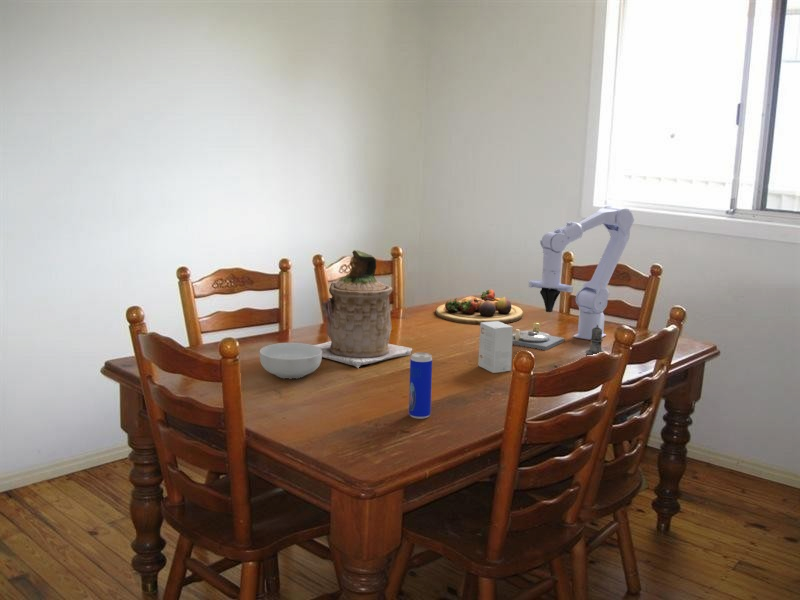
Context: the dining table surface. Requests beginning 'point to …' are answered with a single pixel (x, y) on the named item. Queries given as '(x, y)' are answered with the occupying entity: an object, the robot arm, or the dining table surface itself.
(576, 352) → the dining table surface
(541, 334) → the flange plate
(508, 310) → the wooden plate with food
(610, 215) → the robot arm
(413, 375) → the beverage can
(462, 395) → the dining table surface
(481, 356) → the small box
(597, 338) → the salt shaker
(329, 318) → the cookie jar
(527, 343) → the jig board
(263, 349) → the cereal bowl
